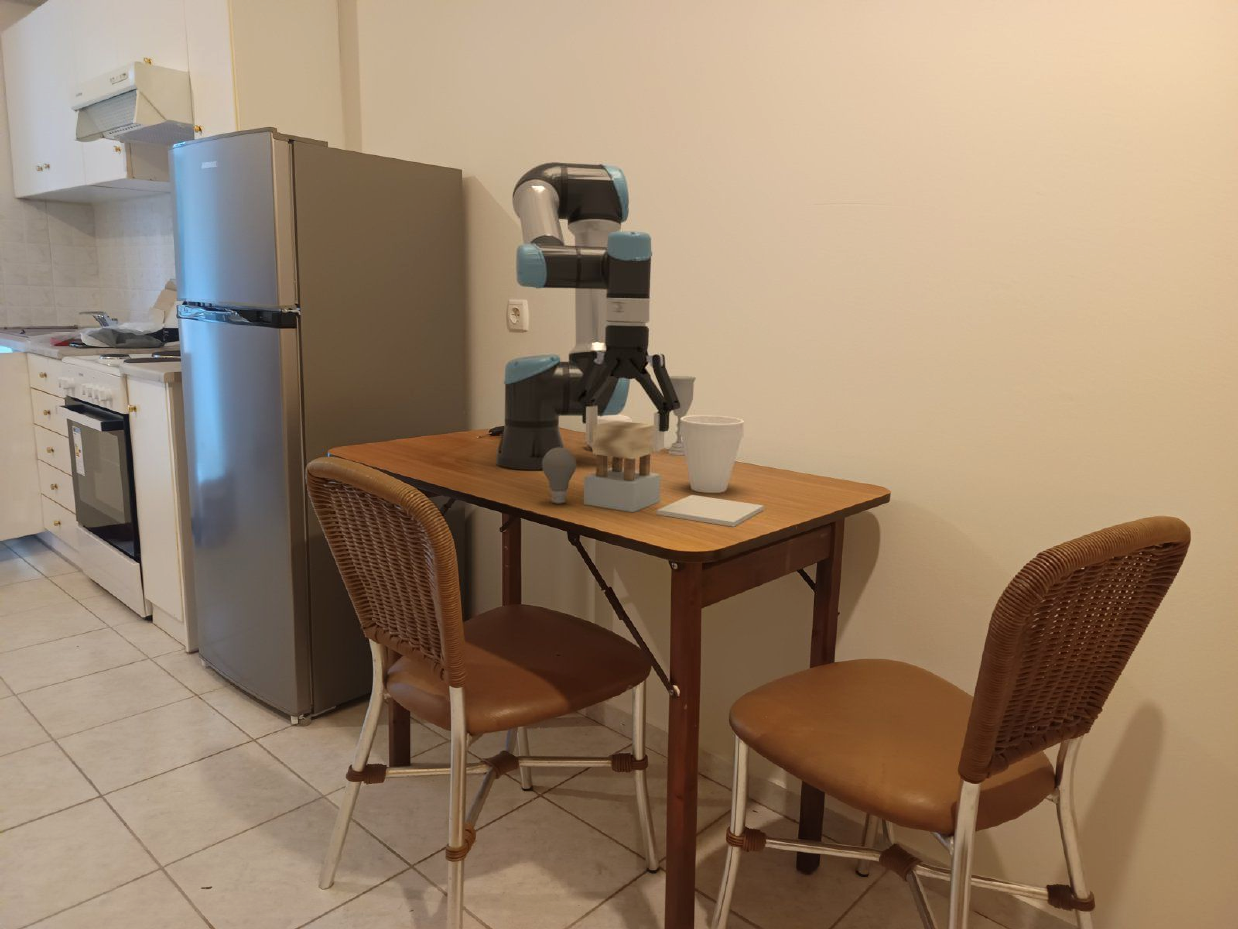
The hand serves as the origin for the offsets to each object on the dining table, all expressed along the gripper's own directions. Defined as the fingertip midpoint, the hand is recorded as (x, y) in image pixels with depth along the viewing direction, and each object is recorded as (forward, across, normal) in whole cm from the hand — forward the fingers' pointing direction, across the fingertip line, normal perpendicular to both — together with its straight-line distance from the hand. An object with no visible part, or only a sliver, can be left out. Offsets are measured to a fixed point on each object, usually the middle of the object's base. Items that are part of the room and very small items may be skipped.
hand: (624, 446), depth 154 cm
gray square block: (+10, 0, 0) cm, 10 cm away
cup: (+10, +8, +20) cm, 24 cm away
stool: (+5, 0, 0) cm, 5 cm away
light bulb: (+10, -9, -7) cm, 16 cm away
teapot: (+10, -30, +47) cm, 57 cm away
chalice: (+10, -14, +52) cm, 55 cm away
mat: (+10, +16, +3) cm, 19 cm away
